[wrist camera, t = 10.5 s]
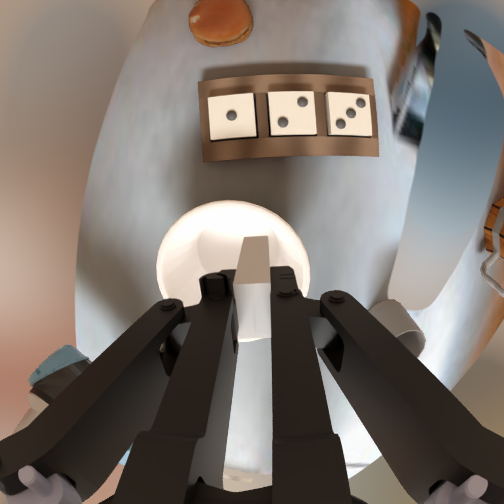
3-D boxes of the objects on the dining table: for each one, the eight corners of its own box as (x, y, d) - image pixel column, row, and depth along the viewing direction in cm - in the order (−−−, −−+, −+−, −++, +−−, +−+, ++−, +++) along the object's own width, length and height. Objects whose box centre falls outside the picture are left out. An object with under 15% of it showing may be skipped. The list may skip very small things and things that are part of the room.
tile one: (215, 140, 38) (210, 139, 34) (212, 102, 36) (207, 97, 32) (256, 137, 37) (256, 135, 34) (253, 98, 35) (252, 92, 32)
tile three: (325, 135, 37) (331, 133, 33) (322, 96, 35) (328, 91, 31) (363, 136, 36) (372, 135, 33) (360, 99, 34) (369, 94, 31)
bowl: (166, 278, 46) (142, 311, 36) (201, 170, 39) (181, 175, 29) (270, 318, 47) (271, 359, 37) (320, 218, 41) (338, 239, 31)
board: (207, 161, 39) (203, 162, 37) (201, 85, 35) (197, 81, 33) (372, 156, 37) (378, 156, 35) (367, 82, 33) (372, 78, 31)
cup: (376, 295, 45) (397, 326, 36) (409, 303, 46) (433, 332, 36) (357, 333, 48) (372, 368, 39) (390, 338, 48) (408, 371, 39)
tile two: (270, 136, 37) (271, 134, 34) (267, 97, 35) (268, 91, 32) (312, 135, 37) (317, 133, 33) (309, 96, 35) (313, 91, 31)
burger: (264, 32, 32) (264, 19, 27) (211, 59, 33) (204, 49, 29) (232, -5, 29) (229, -20, 24) (181, 21, 31) (173, 9, 26)
